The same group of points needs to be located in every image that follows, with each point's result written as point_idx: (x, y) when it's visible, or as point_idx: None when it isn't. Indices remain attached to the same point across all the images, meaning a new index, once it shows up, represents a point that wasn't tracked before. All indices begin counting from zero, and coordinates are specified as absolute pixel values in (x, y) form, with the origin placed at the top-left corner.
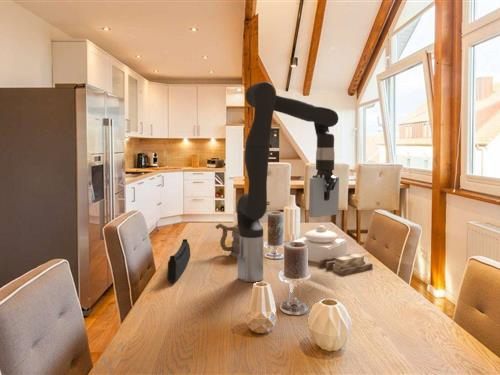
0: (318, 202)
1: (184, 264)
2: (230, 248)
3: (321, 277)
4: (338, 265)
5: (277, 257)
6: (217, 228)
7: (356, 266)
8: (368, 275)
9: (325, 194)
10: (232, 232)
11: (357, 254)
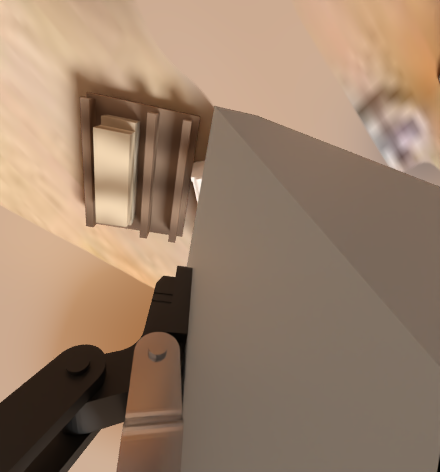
0: (205, 193)
1: None
2: None
3: (139, 59)
4: (116, 125)
5: (371, 127)
6: None
7: (89, 171)
8: (79, 186)
9: (171, 308)
10: None
11: (119, 222)
